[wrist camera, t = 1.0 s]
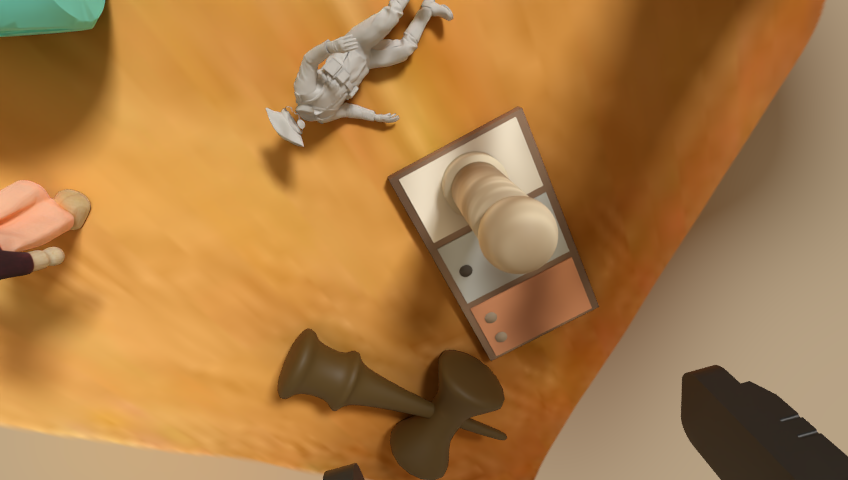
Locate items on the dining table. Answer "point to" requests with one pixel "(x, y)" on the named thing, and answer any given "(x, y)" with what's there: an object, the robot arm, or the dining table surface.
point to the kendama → (399, 399)
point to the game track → (461, 254)
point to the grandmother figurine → (35, 225)
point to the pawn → (500, 213)
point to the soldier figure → (351, 68)
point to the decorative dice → (47, 16)
